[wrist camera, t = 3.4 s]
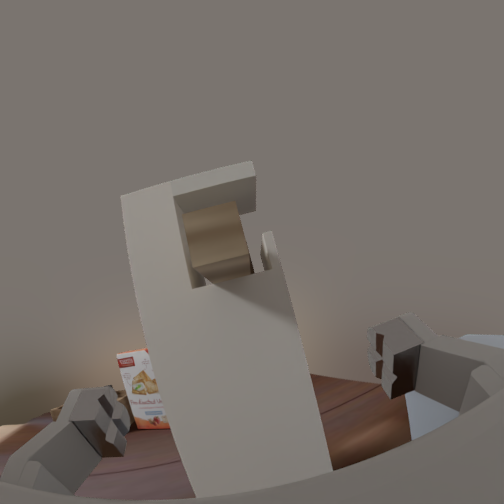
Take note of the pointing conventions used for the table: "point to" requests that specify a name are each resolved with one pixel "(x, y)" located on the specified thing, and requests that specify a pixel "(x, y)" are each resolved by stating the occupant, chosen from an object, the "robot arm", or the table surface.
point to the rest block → (432, 412)
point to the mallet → (217, 243)
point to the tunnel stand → (222, 345)
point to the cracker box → (142, 389)
